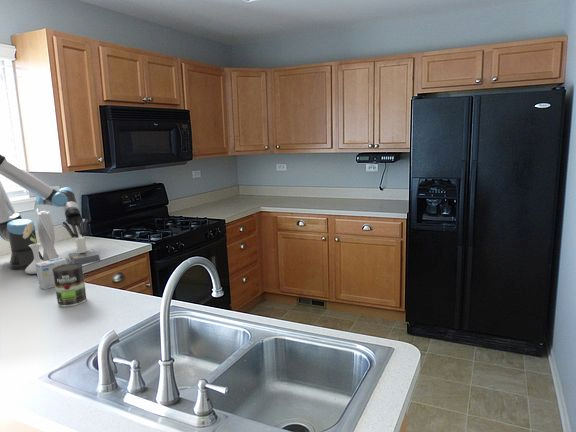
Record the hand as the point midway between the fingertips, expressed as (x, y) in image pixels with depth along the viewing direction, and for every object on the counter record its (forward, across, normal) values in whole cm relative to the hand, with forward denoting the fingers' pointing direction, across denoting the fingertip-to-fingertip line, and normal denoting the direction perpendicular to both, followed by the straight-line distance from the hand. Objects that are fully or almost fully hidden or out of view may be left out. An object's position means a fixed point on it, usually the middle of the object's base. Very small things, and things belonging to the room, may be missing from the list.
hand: (82, 246), depth 231 cm
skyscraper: (-1, +15, -10) cm, 18 cm away
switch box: (+9, +1, +1) cm, 9 cm away
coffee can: (+52, +19, +46) cm, 72 cm away
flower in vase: (+14, +23, +6) cm, 28 cm away
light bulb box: (+32, +21, +25) cm, 46 cm away
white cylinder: (+4, +1, 0) cm, 4 cm away
